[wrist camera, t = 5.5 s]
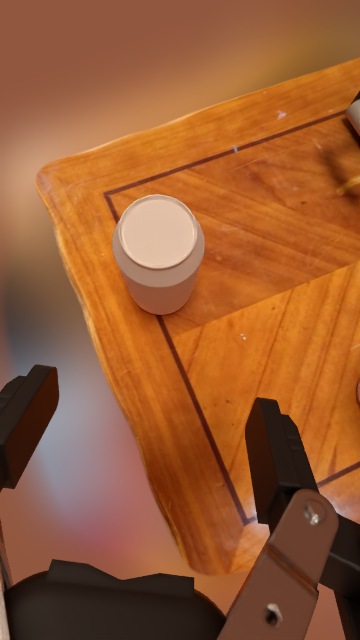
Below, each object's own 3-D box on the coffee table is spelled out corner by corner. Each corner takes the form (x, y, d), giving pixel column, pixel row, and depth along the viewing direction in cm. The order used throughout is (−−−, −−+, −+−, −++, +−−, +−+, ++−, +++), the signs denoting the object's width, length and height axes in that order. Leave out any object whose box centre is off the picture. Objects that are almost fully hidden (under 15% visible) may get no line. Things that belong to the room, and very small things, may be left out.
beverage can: (137, 323, 30) (119, 289, 18) (123, 264, 31) (97, 195, 19) (199, 308, 30) (220, 265, 19) (183, 250, 32) (193, 175, 20)
